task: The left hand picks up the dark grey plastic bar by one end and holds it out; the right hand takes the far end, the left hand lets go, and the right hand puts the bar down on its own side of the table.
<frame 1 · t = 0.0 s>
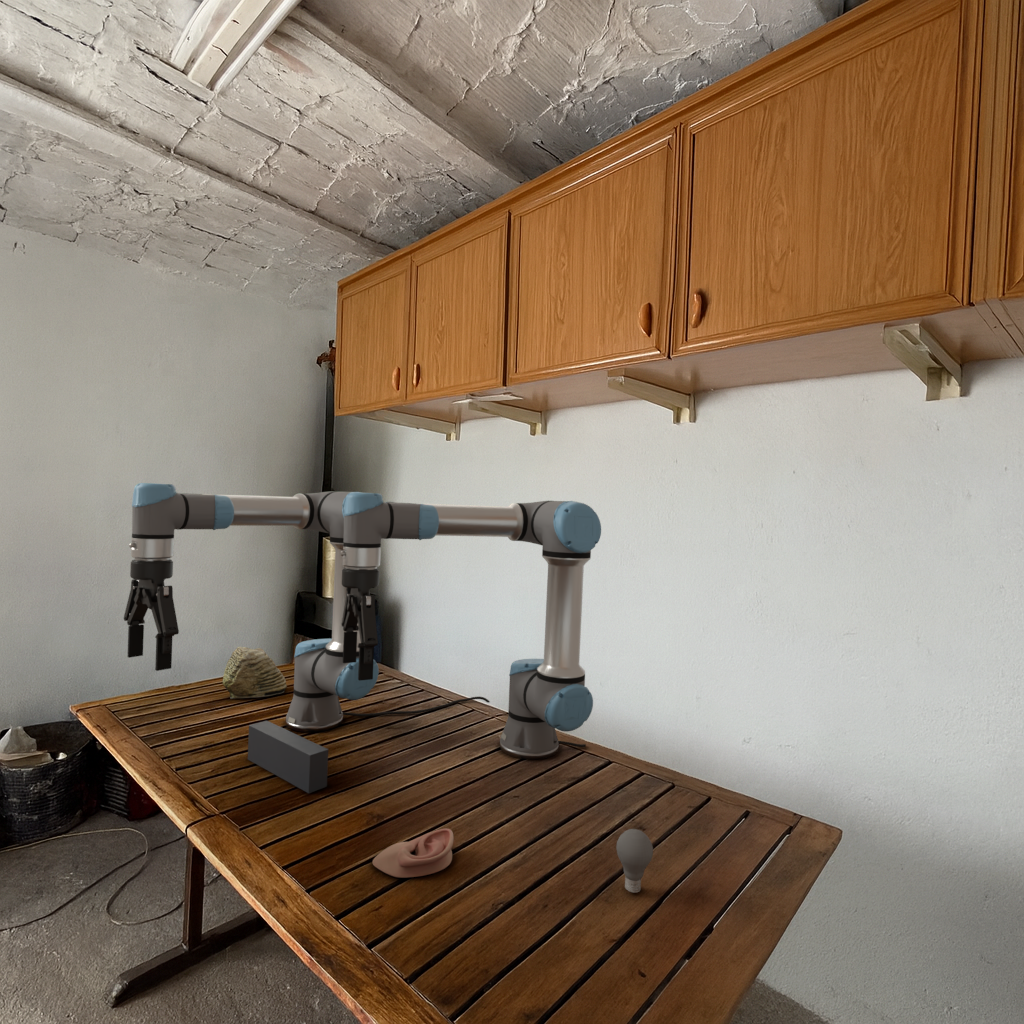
left hand: (148, 662, 129), 28 cm above the table, tool pointing down, fingers open, 13 cm apart
right hand: (357, 670, 130), 28 cm above the table, tool pointing down, fingers open, 13 cm apart
light bulb: (632, 891, 106), on the table
bar: (285, 772, 145), on the table
fossil: (254, 694, 198), on the table
anatomical model: (413, 861, 112), on the table
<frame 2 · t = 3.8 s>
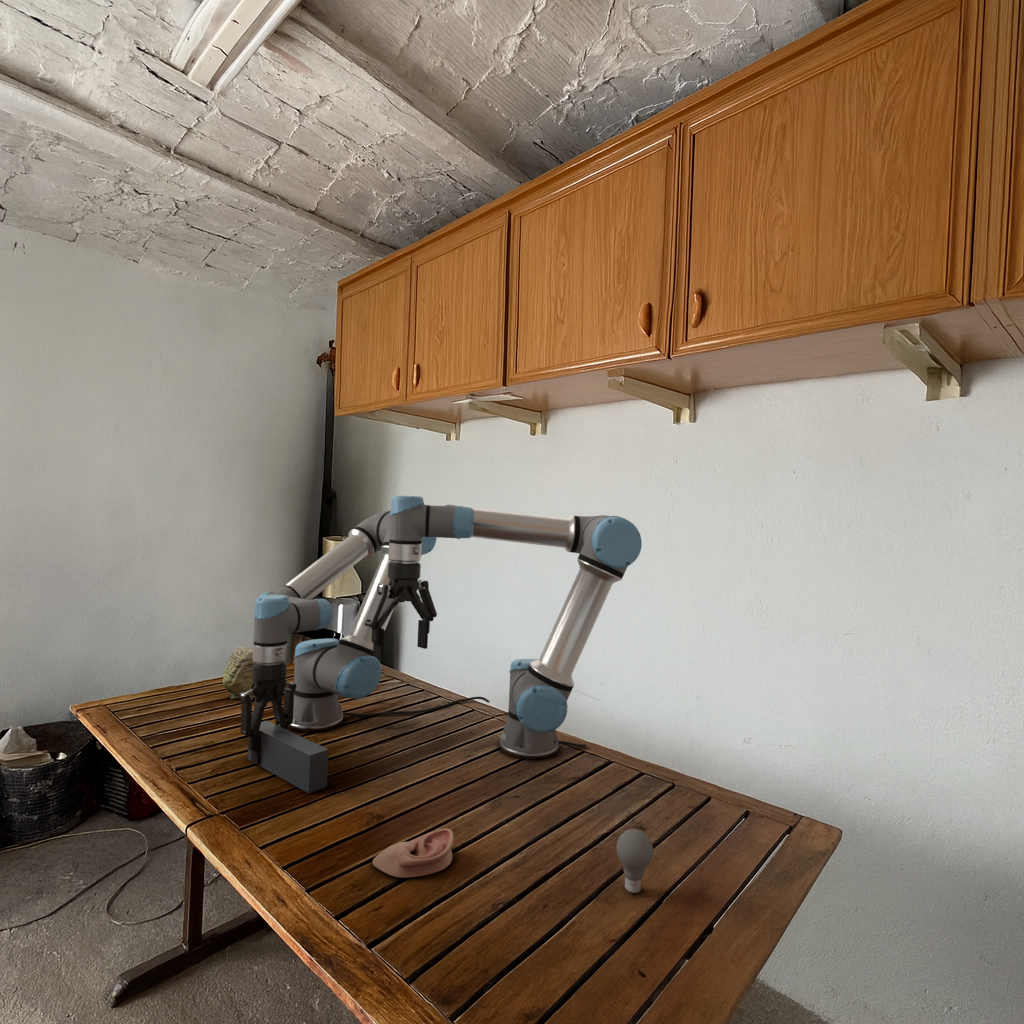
left hand: (266, 759, 150), 1 cm above the table, tool pointing down, fingers closed on bar, 5 cm apart
right hand: (400, 652, 148), 28 cm above the table, tool pointing down, fingers open, 13 cm apart
bar: (285, 772, 145), on the table, touching left hand
everything else where it was.
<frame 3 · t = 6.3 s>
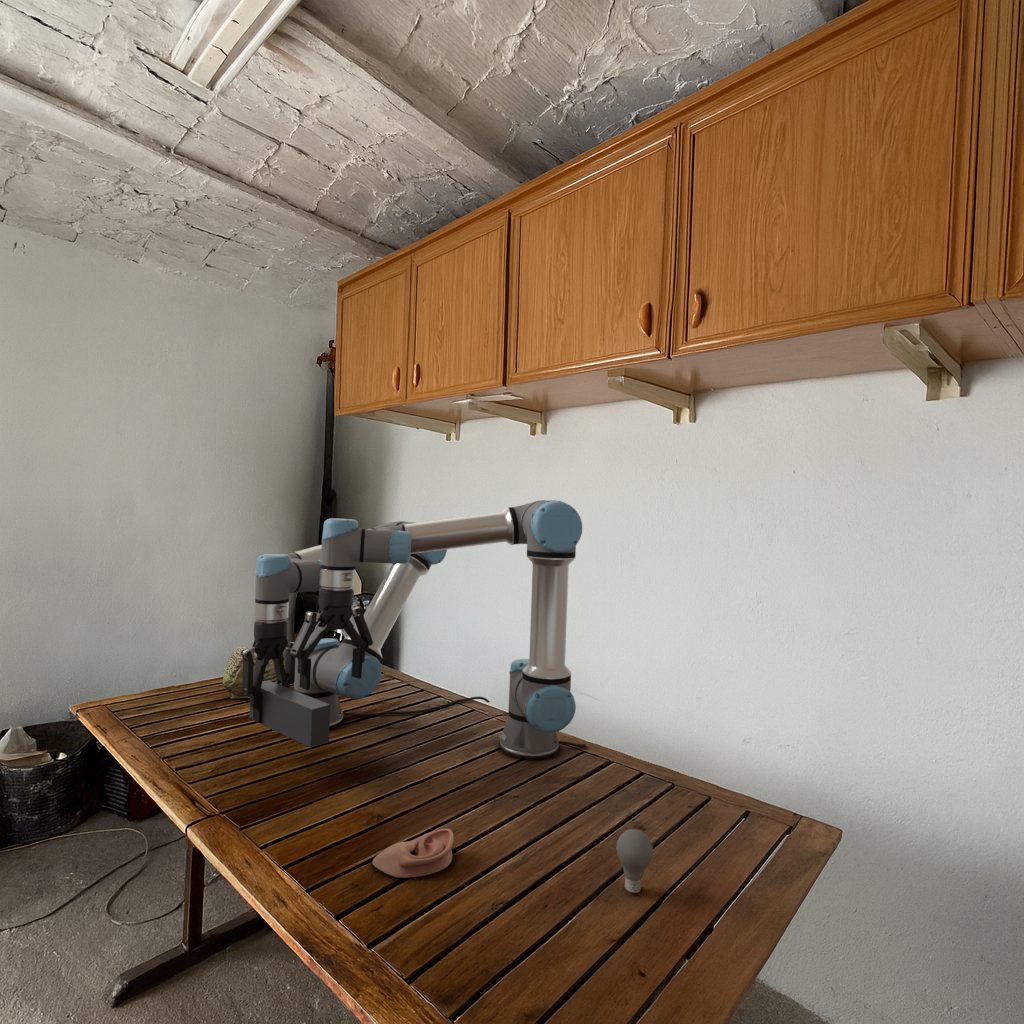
left hand: (267, 717, 150), 10 cm above the table, tool pointing down, fingers closed on bar, 5 cm apart
right hand: (331, 682, 141), 22 cm above the table, tool pointing down, fingers open, 13 cm apart
bar: (287, 729, 144), point 10 cm above the table, touching left hand
everything else where it was.
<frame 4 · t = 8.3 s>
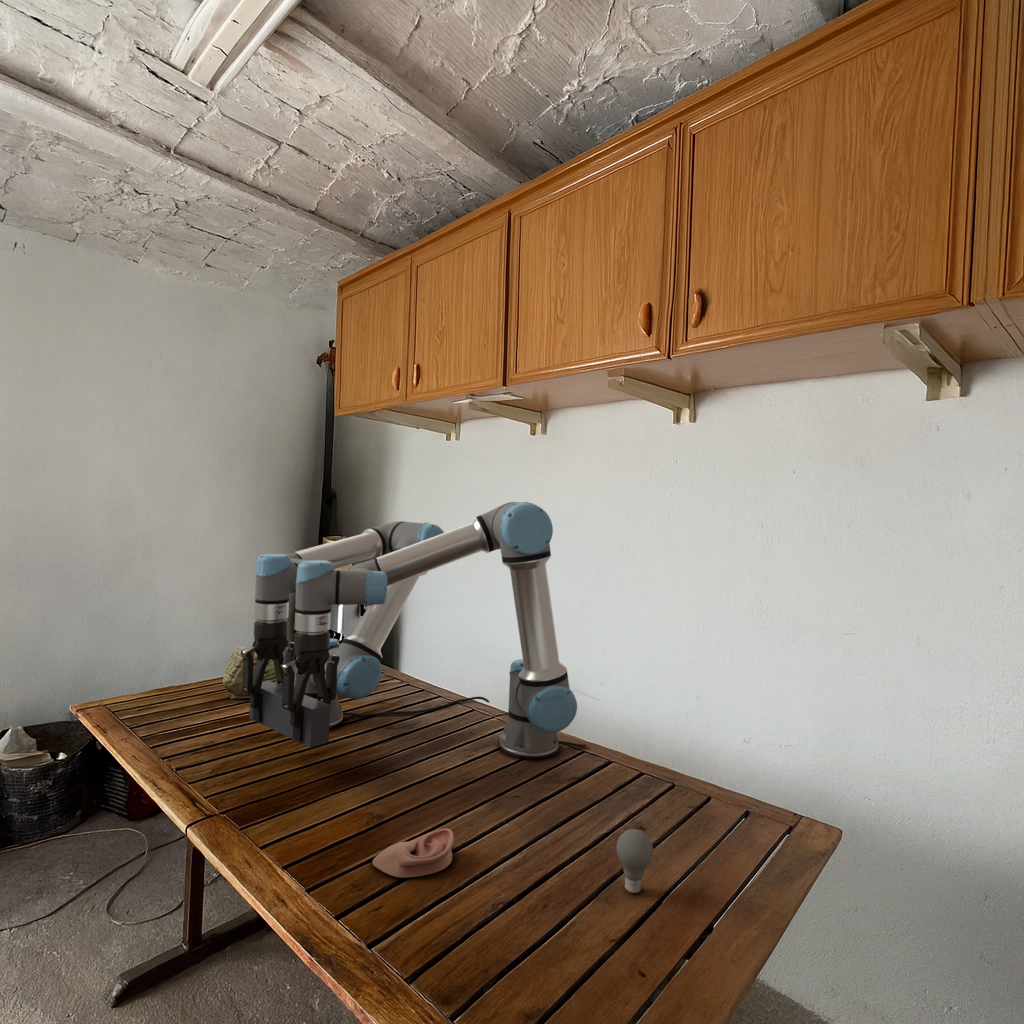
left hand: (267, 717, 150), 10 cm above the table, tool pointing down, fingers closed on bar, 5 cm apart
right hand: (308, 736, 139), 10 cm above the table, tool pointing down, fingers closed on bar, 5 cm apart
bar: (287, 729, 144), point 10 cm above the table, touching left hand, right hand
everything else where it was.
when the left hand's fingers open (10 cm above the table, at t = 9.0 s): bar stays where it is, held by the right hand.
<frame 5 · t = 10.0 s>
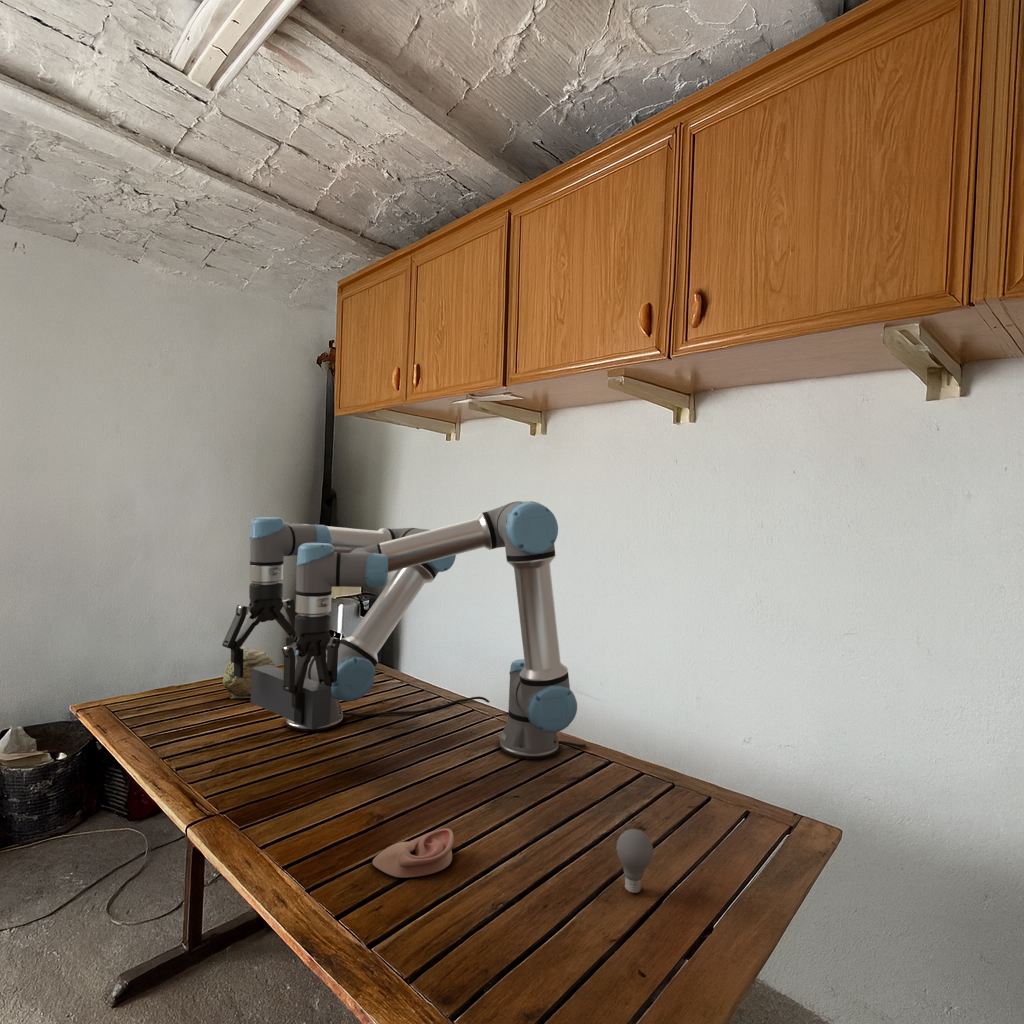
left hand: (265, 670, 152), 21 cm above the table, tool pointing down, fingers open, 13 cm apart
right hand: (309, 719, 139), 14 cm above the table, tool pointing down, fingers closed on bar, 5 cm apart
bar: (288, 712, 144), point 14 cm above the table, touching right hand
everything else where it was.
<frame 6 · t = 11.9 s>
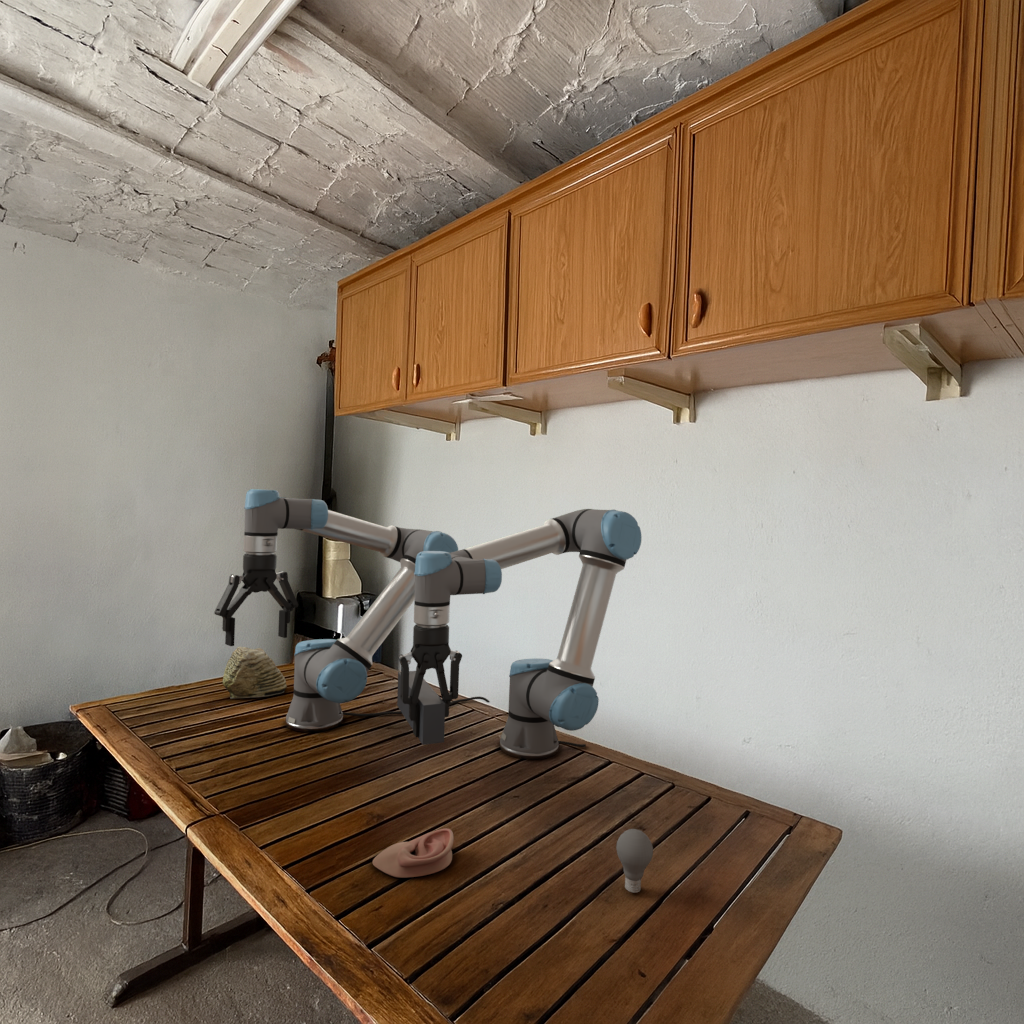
left hand: (257, 641, 153), 28 cm above the table, tool pointing down, fingers open, 13 cm apart
right hand: (428, 733, 135), 14 cm above the table, tool pointing down, fingers closed on bar, 5 cm apart
bar: (418, 722, 142), point 13 cm above the table, touching right hand
everything else where it was.
when the right hand's fingers open (2 cm above the table, at t = 15.8 s): bar drops 2 cm, on the table.
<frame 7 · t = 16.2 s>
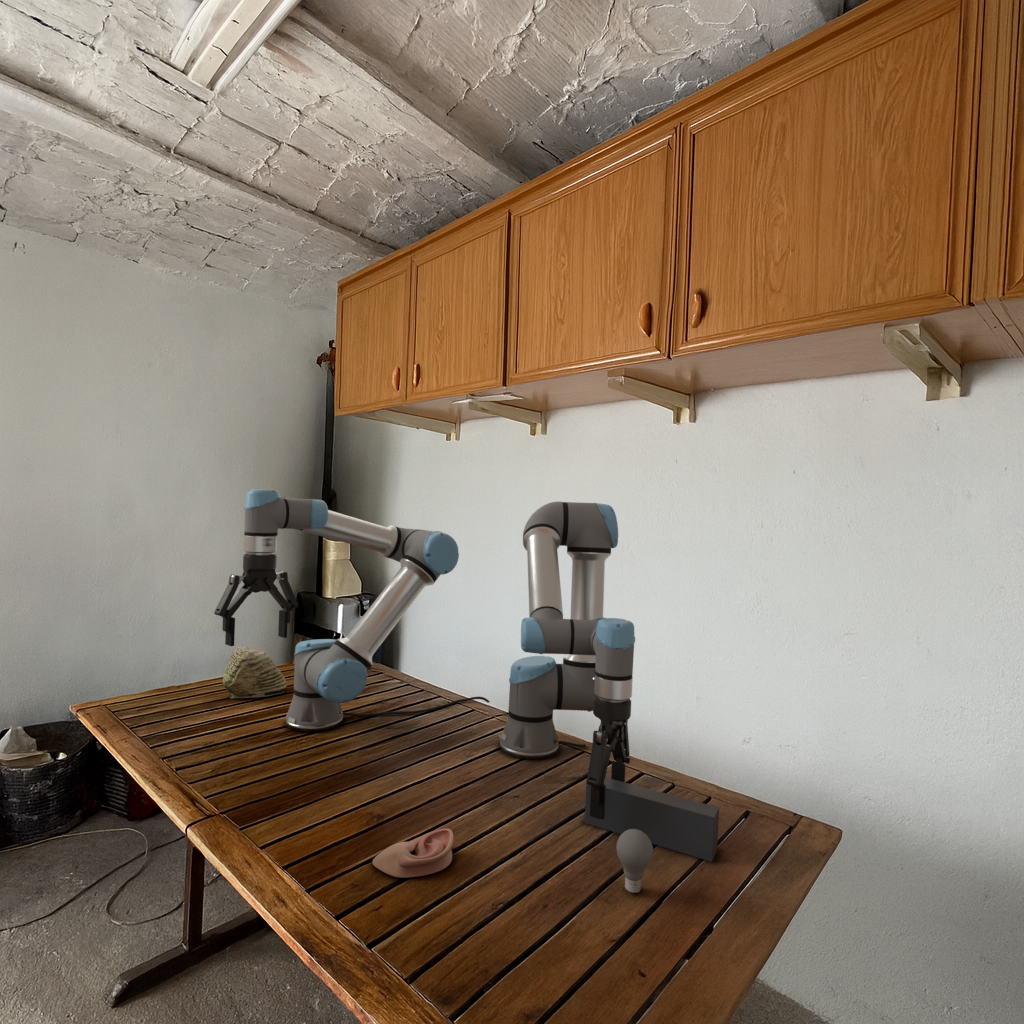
left hand: (257, 641, 153), 28 cm above the table, tool pointing down, fingers open, 13 cm apart
right hand: (607, 805, 128), 4 cm above the table, tool pointing down, fingers open, 11 cm apart
bar: (648, 836, 124), on the table
everything else where it was.
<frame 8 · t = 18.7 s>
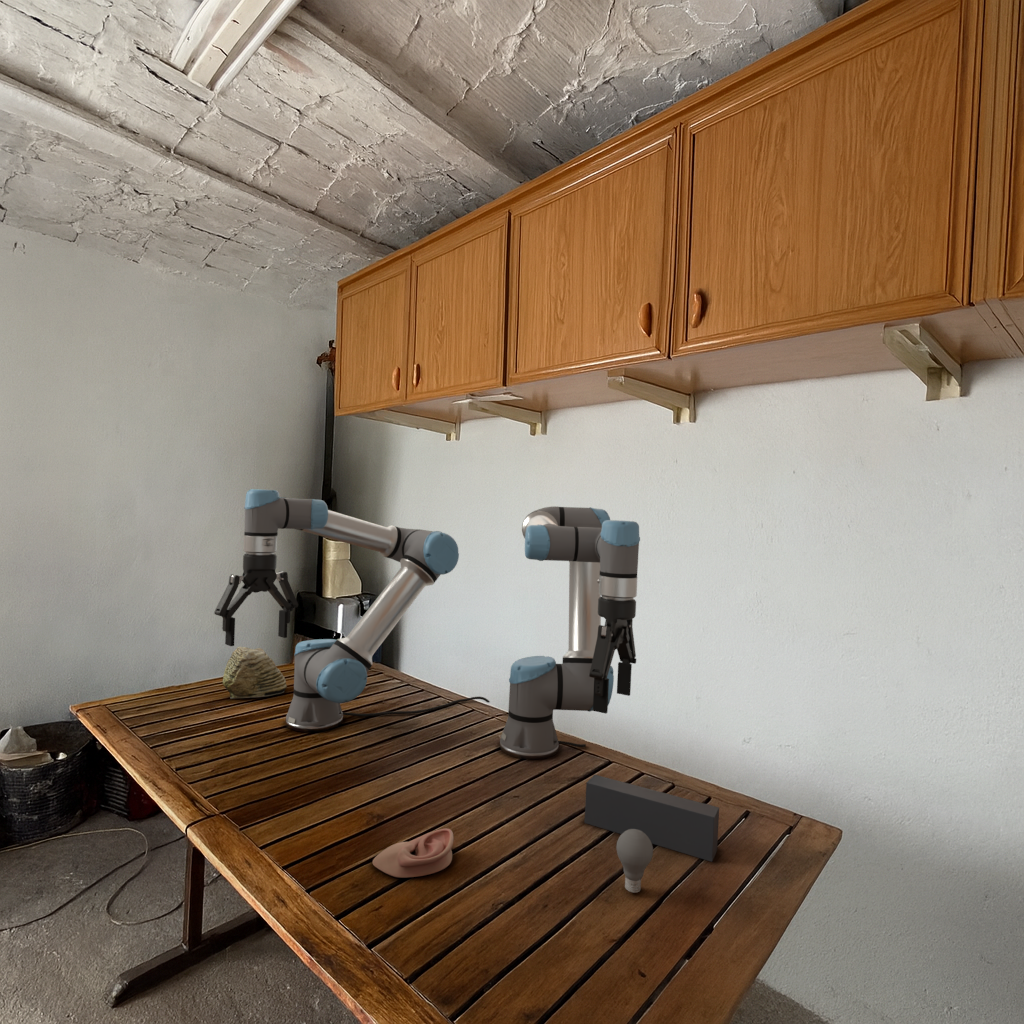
left hand: (257, 641, 153), 28 cm above the table, tool pointing down, fingers open, 13 cm apart
right hand: (612, 702, 127), 25 cm above the table, tool pointing down, fingers open, 13 cm apart
nothing on the table moved.
at the end: bar inside the target area (8.6 cm from its centre), on the table; the left hand is holding nothing; the right hand is holding nothing; bar at rest at the end (0.0 cm/s) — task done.
